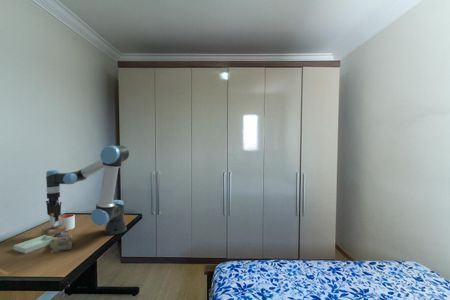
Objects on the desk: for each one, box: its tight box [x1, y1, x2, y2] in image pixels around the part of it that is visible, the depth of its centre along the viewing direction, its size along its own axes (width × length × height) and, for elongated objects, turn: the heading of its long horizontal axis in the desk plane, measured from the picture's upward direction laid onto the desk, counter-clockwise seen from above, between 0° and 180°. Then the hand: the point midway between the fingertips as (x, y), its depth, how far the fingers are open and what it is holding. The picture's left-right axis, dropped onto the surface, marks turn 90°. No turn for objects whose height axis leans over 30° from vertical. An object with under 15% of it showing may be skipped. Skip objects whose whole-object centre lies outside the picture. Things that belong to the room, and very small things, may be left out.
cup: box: [58, 213, 76, 232], centre depth 178 cm, size 10×10×10 cm
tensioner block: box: [41, 224, 69, 238], centre depth 166 cm, size 16×10×5 cm, turn 67°
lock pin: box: [50, 213, 57, 229], centre depth 167 cm, size 4×4×14 cm
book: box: [49, 234, 74, 254], centre depth 150 cm, size 15×11×5 cm
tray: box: [13, 235, 54, 255], centre depth 149 cm, size 12×17×3 cm
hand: (54, 225), depth 167 cm, fingers closed on lock pin, 3 cm apart
